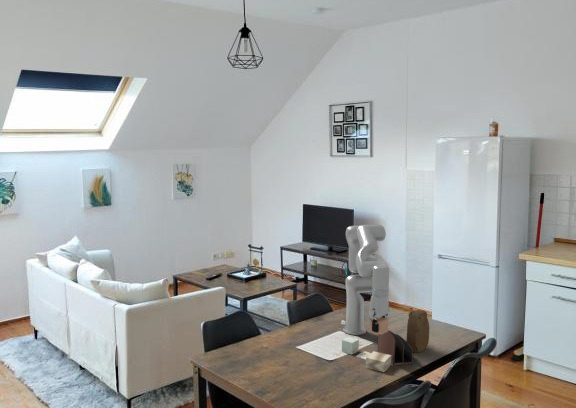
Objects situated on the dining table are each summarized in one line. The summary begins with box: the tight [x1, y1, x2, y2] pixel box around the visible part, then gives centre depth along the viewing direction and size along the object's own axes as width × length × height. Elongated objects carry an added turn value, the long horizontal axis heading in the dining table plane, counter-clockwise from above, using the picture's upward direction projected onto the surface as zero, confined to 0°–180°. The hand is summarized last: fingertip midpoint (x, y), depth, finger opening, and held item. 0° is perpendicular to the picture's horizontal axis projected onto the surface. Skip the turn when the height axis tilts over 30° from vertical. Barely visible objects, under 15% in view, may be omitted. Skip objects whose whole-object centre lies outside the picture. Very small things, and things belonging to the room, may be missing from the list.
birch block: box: [365, 350, 392, 373], centre depth 251 cm, size 9×9×5 cm
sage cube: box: [341, 336, 360, 355], centre depth 268 cm, size 6×6×6 cm
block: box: [406, 309, 430, 353], centre depth 271 cm, size 11×8×20 cm
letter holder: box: [376, 329, 414, 366], centre depth 262 cm, size 10×20×14 cm, turn 12°
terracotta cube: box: [369, 315, 389, 335], centre depth 249 cm, size 6×6×6 cm
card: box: [355, 350, 372, 361], centre depth 262 cm, size 8×8×1 cm
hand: (379, 329), depth 249 cm, fingers closed on terracotta cube, 6 cm apart
